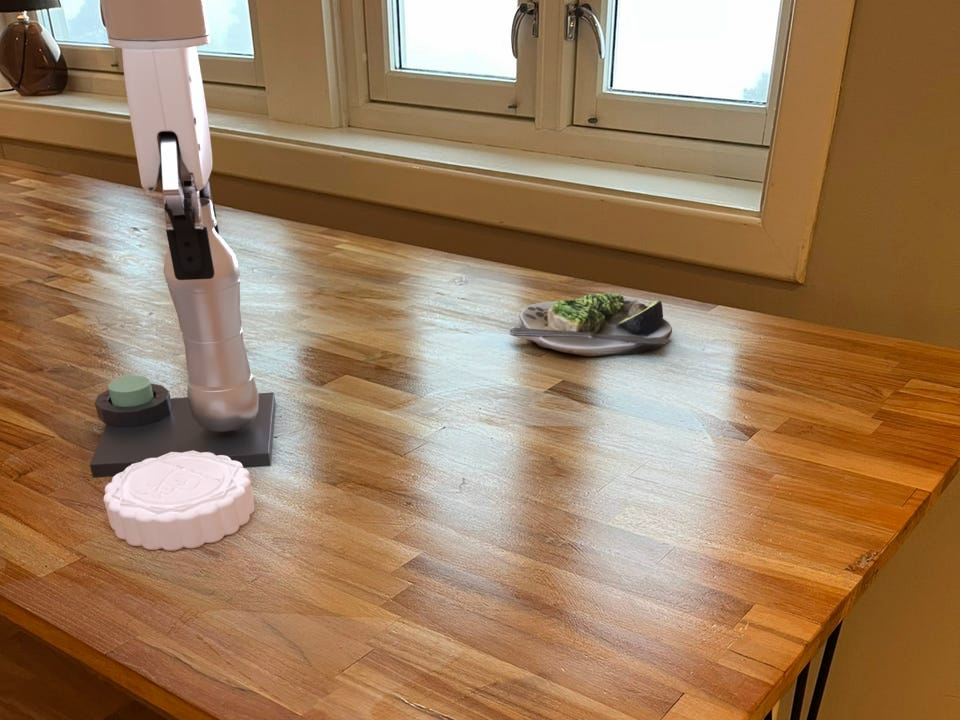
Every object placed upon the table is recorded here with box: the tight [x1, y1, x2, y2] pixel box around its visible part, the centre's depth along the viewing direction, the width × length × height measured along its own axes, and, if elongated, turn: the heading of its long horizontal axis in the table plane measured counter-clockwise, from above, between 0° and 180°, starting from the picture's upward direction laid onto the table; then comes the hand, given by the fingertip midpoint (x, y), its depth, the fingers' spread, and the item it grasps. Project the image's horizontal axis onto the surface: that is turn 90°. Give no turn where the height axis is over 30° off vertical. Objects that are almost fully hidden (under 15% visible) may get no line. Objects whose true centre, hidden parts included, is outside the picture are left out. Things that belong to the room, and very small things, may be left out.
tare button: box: [107, 375, 154, 407], centre depth 95 cm, size 4×4×2 cm
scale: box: [89, 383, 277, 479], centre depth 93 cm, size 17×14×3 cm
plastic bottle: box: [163, 198, 259, 432], centre depth 87 cm, size 6×7×20 cm
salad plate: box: [509, 292, 673, 357], centre depth 114 cm, size 19×18×5 cm
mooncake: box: [103, 450, 255, 552], centre depth 81 cm, size 12×12×4 cm
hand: (199, 263), depth 83 cm, fingers closed on plastic bottle, 6 cm apart
